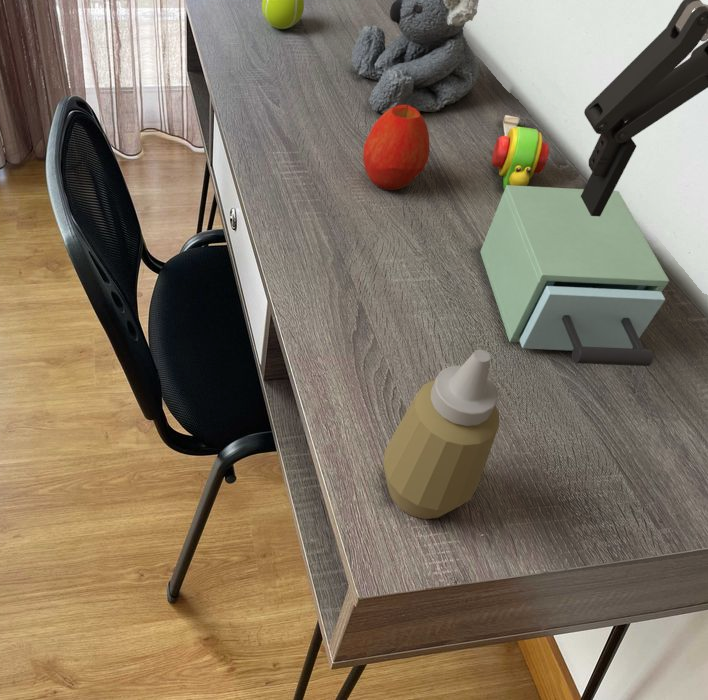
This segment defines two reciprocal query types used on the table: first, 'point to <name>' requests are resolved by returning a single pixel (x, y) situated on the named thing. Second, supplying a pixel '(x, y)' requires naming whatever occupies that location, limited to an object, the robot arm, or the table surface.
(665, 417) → the table surface
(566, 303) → the drawer
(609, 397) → the table surface
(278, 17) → the tennis ball
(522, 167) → the toy measuring tape
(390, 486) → the squeeze bottle
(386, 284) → the table surface
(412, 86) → the koala plush
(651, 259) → the cabinet
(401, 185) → the red egg-shaped piece
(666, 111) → the robot arm
